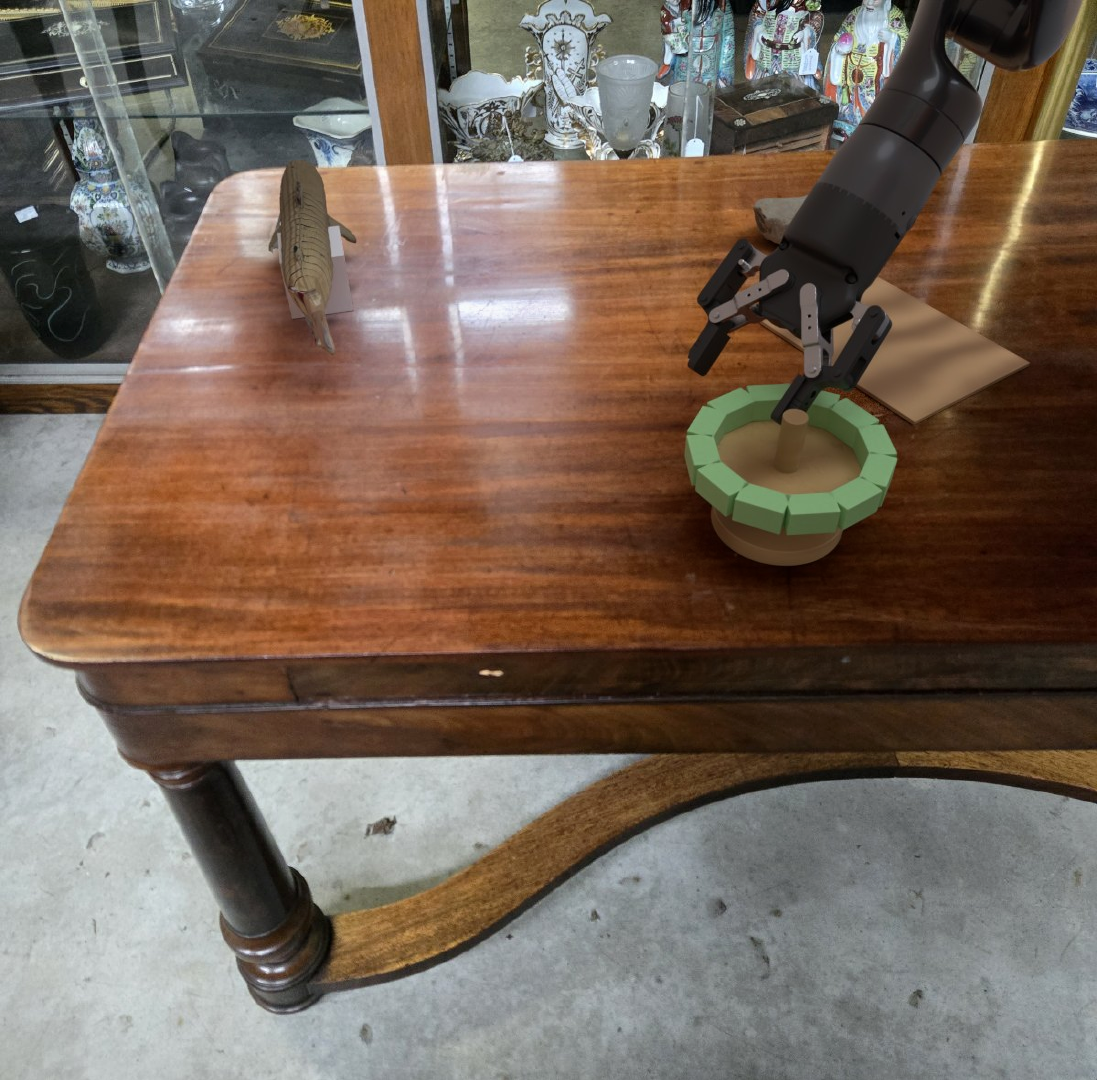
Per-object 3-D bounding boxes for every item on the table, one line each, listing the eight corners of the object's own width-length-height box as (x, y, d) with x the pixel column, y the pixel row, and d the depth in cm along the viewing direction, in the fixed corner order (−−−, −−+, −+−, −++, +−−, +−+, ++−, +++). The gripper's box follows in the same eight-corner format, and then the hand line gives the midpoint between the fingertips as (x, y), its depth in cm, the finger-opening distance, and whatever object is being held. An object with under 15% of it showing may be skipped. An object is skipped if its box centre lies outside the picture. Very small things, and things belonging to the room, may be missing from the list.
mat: (1028, 366, 94) (1030, 362, 93) (913, 425, 88) (914, 421, 88) (865, 273, 106) (865, 269, 105) (754, 319, 100) (754, 316, 100)
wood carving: (284, 423, 90) (256, 311, 82) (270, 231, 114) (248, 131, 106) (387, 408, 91) (369, 296, 83) (352, 221, 115) (336, 121, 107)
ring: (932, 481, 75) (939, 460, 73) (781, 564, 69) (785, 543, 67) (790, 383, 83) (794, 362, 82) (646, 449, 78) (647, 428, 76)
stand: (885, 532, 79) (916, 428, 72) (771, 597, 74) (792, 493, 67) (780, 452, 86) (798, 350, 79) (670, 507, 81) (679, 404, 74)
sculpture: (845, 211, 117) (733, 230, 112) (858, 171, 113) (742, 189, 108) (884, 243, 112) (770, 264, 107) (899, 201, 109) (781, 222, 104)
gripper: (767, 151, 77) (646, 340, 79) (930, 220, 69) (789, 428, 72) (803, 196, 83) (690, 371, 86) (957, 265, 75) (826, 455, 78)
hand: (735, 397), depth 79 cm, fingers open, 8 cm apart
